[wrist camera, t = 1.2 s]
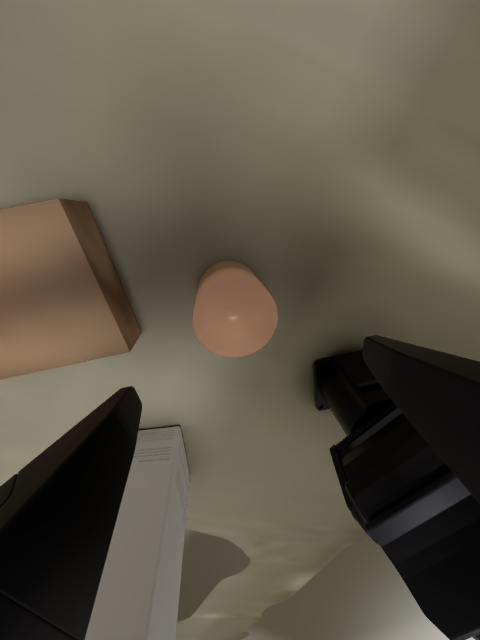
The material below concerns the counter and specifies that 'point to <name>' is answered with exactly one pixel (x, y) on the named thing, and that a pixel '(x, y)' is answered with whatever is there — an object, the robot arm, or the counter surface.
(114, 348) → the tan flat block
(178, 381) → the counter surface
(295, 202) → the counter surface
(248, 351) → the terracotta cylinder
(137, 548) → the supplement box
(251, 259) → the counter surface
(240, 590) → the counter surface
